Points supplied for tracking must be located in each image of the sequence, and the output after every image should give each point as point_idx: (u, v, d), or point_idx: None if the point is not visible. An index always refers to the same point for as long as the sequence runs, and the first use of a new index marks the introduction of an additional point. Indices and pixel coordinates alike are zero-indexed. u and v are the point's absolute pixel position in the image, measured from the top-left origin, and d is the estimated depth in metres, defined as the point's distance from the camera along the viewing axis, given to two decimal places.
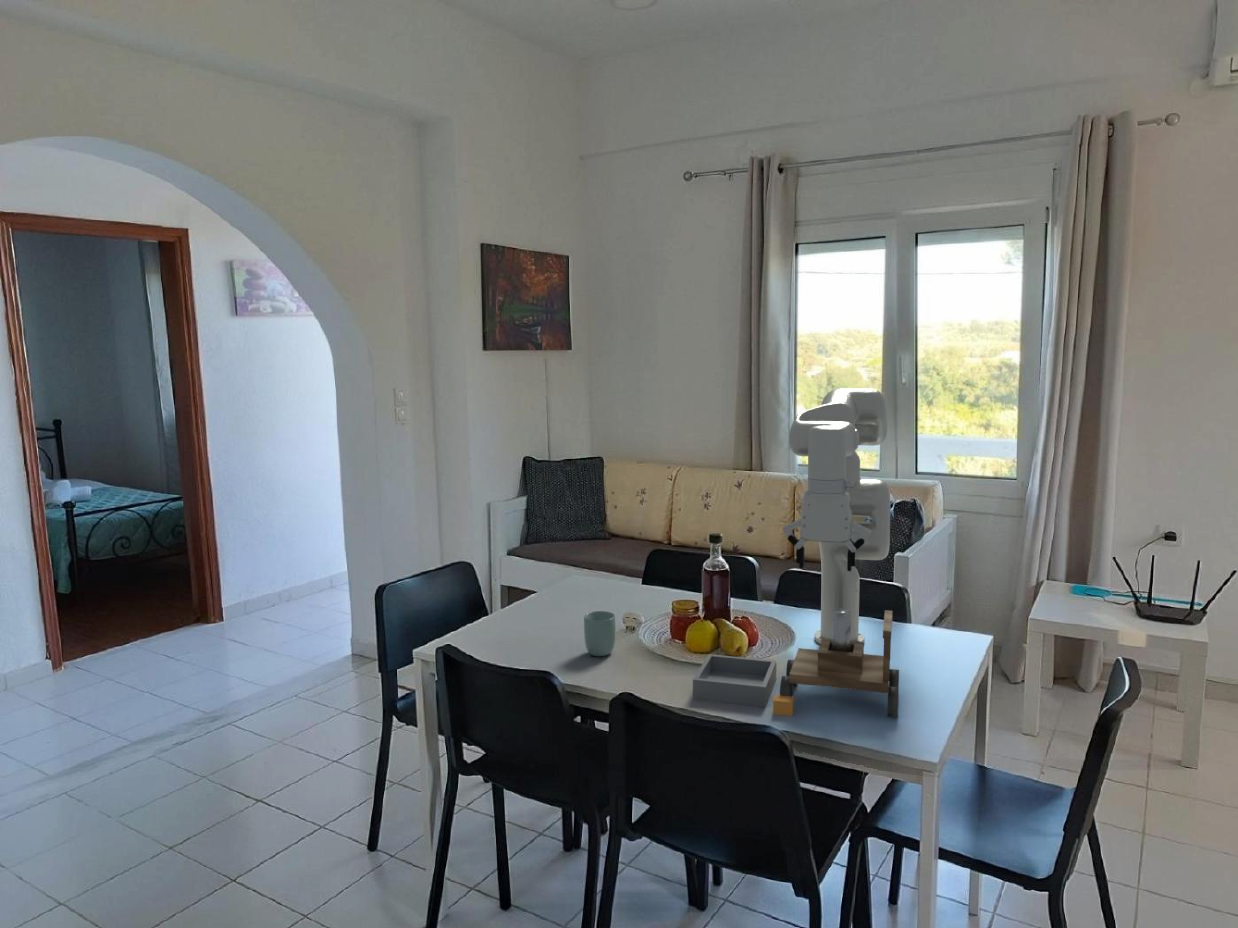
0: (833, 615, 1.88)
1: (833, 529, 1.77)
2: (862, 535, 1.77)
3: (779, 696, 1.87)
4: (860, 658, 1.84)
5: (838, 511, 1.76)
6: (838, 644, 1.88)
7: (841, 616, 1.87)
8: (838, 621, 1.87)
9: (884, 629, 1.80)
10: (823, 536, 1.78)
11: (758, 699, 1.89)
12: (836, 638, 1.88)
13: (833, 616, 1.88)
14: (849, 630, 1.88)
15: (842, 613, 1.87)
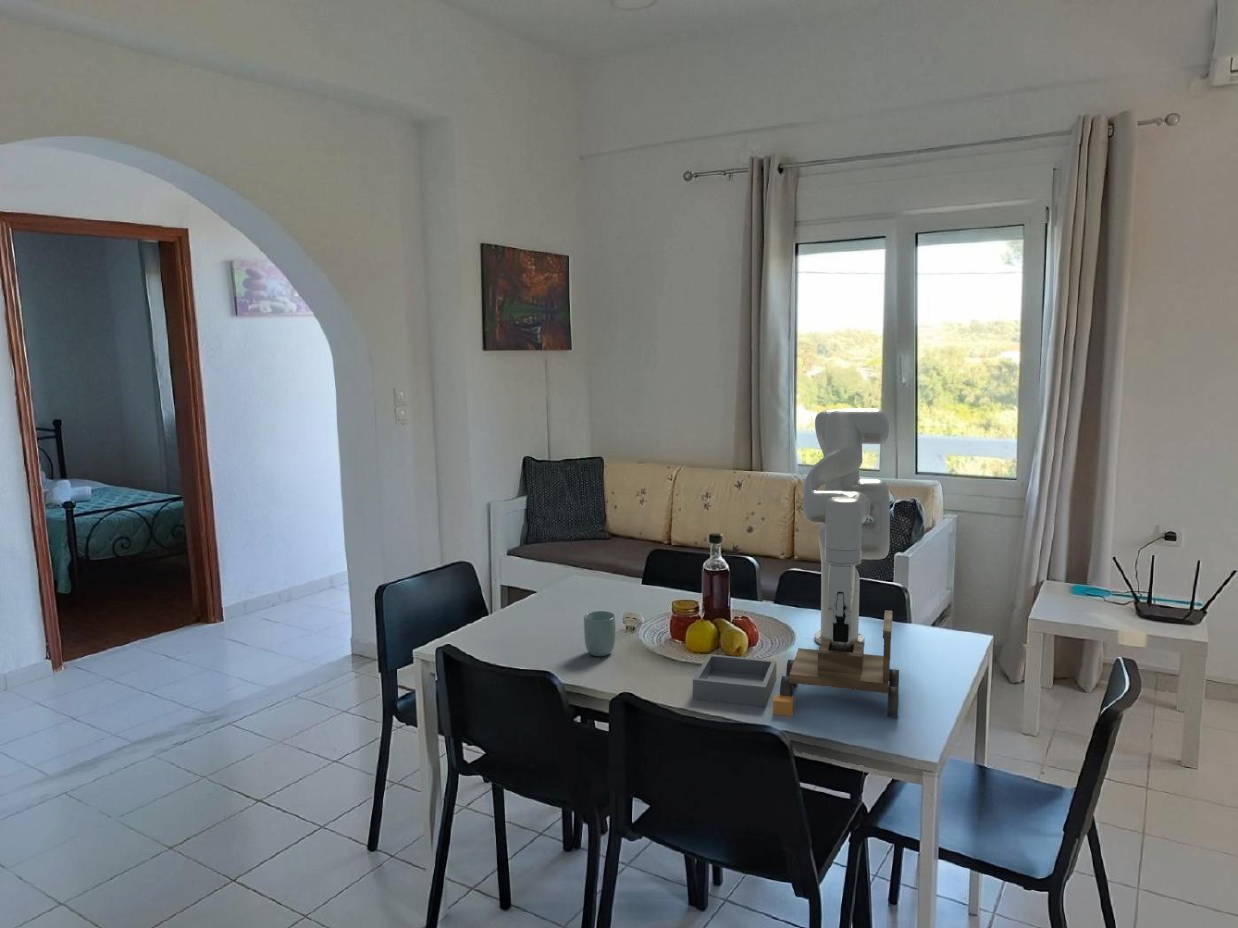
0: (833, 615, 1.88)
1: None
2: None
3: (779, 696, 1.87)
4: (860, 658, 1.84)
5: None
6: (838, 644, 1.88)
7: None
8: None
9: (884, 629, 1.80)
10: (852, 601, 1.87)
11: (758, 699, 1.89)
12: None
13: (833, 616, 1.88)
14: (849, 630, 1.88)
15: None
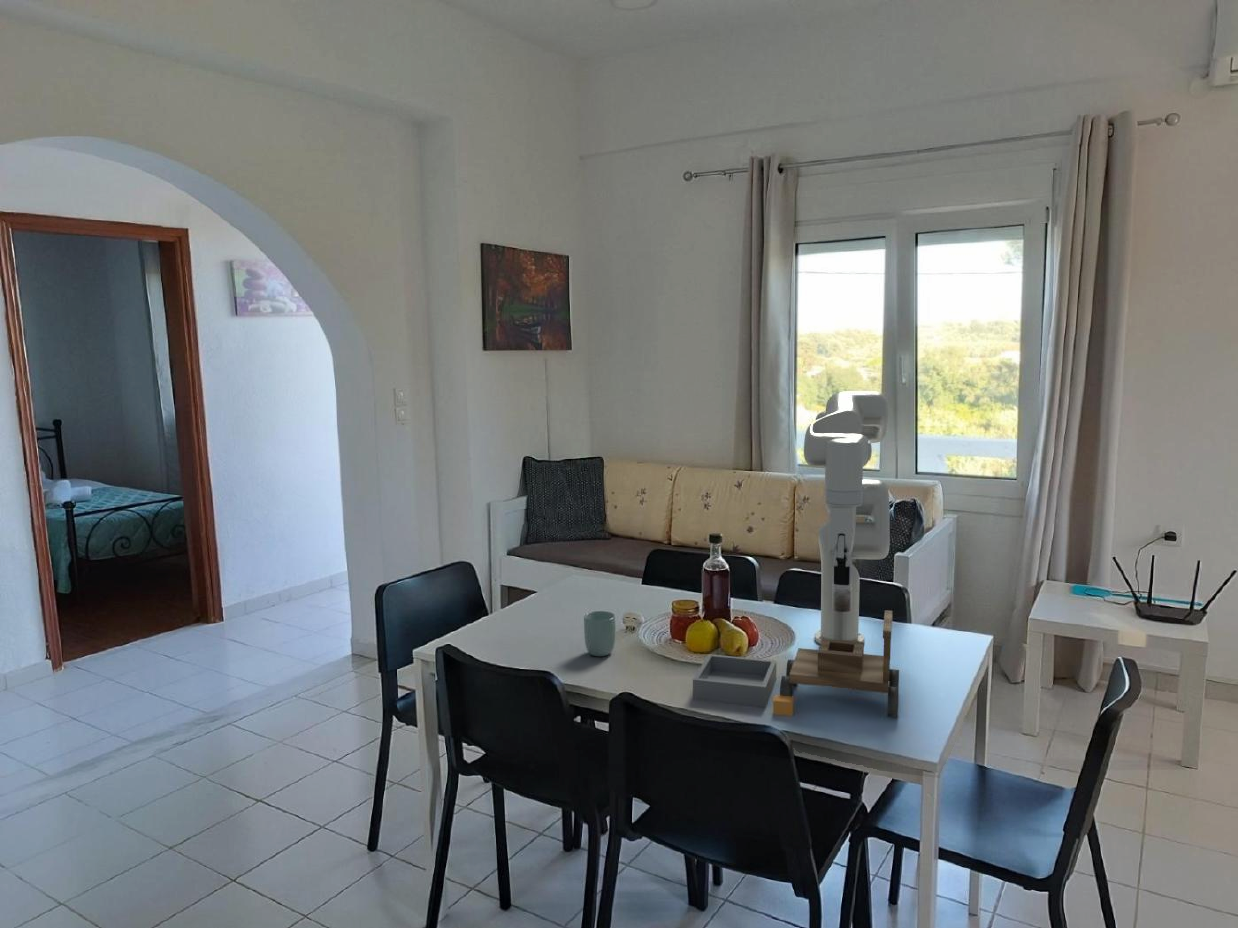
0: (834, 558, 1.86)
1: None
2: None
3: (779, 696, 1.87)
4: (860, 658, 1.84)
5: None
6: (839, 588, 1.86)
7: None
8: None
9: (884, 629, 1.80)
10: (853, 544, 1.85)
11: (758, 699, 1.89)
12: None
13: (834, 559, 1.86)
14: (850, 573, 1.86)
15: None
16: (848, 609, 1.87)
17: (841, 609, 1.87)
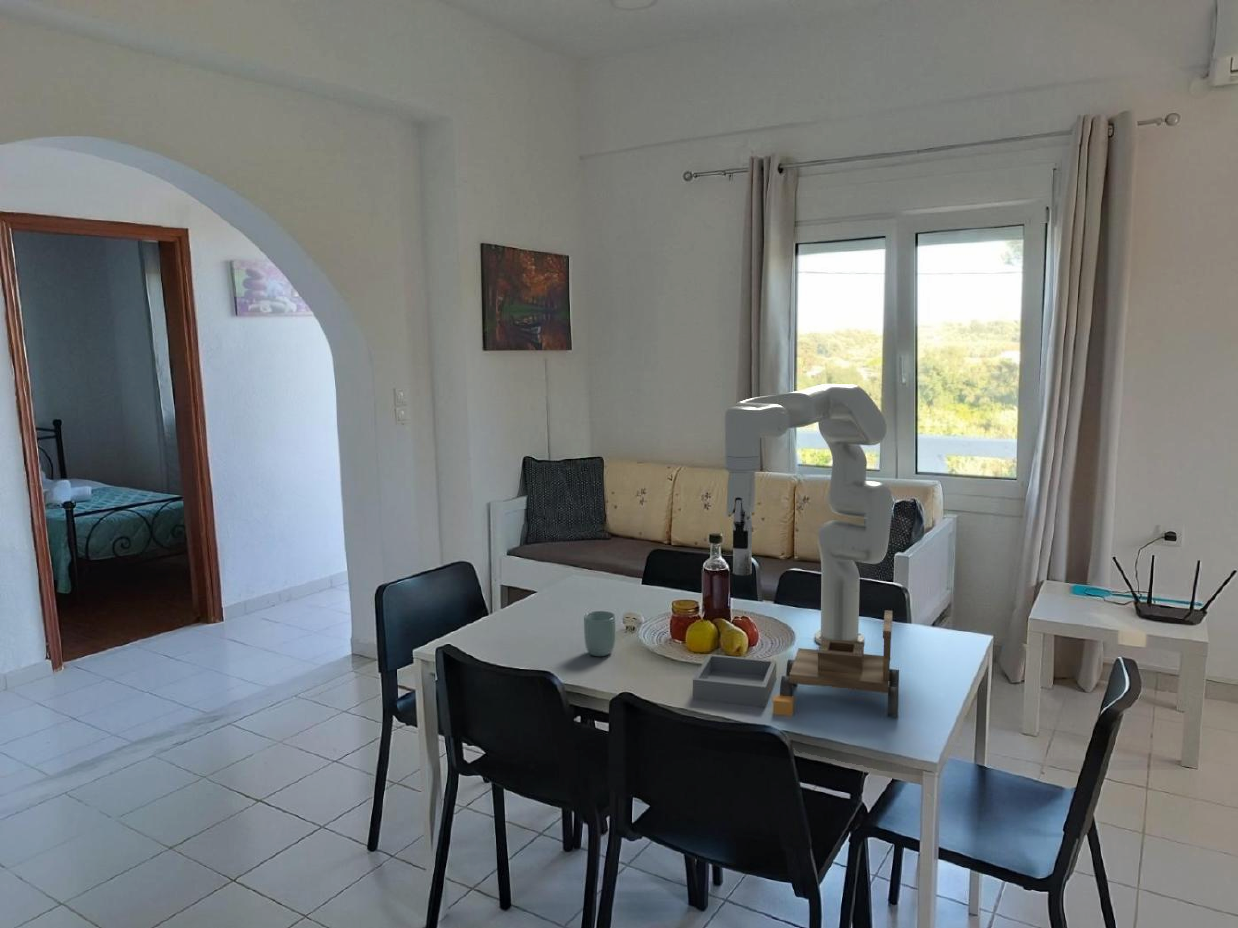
0: None
1: (754, 500, 1.93)
2: None
3: (779, 696, 1.87)
4: (860, 658, 1.84)
5: None
6: (738, 552, 1.92)
7: None
8: None
9: (884, 629, 1.80)
10: (752, 509, 1.91)
11: (758, 699, 1.89)
12: None
13: None
14: (749, 537, 1.91)
15: None
16: (748, 572, 1.92)
17: (741, 572, 1.92)
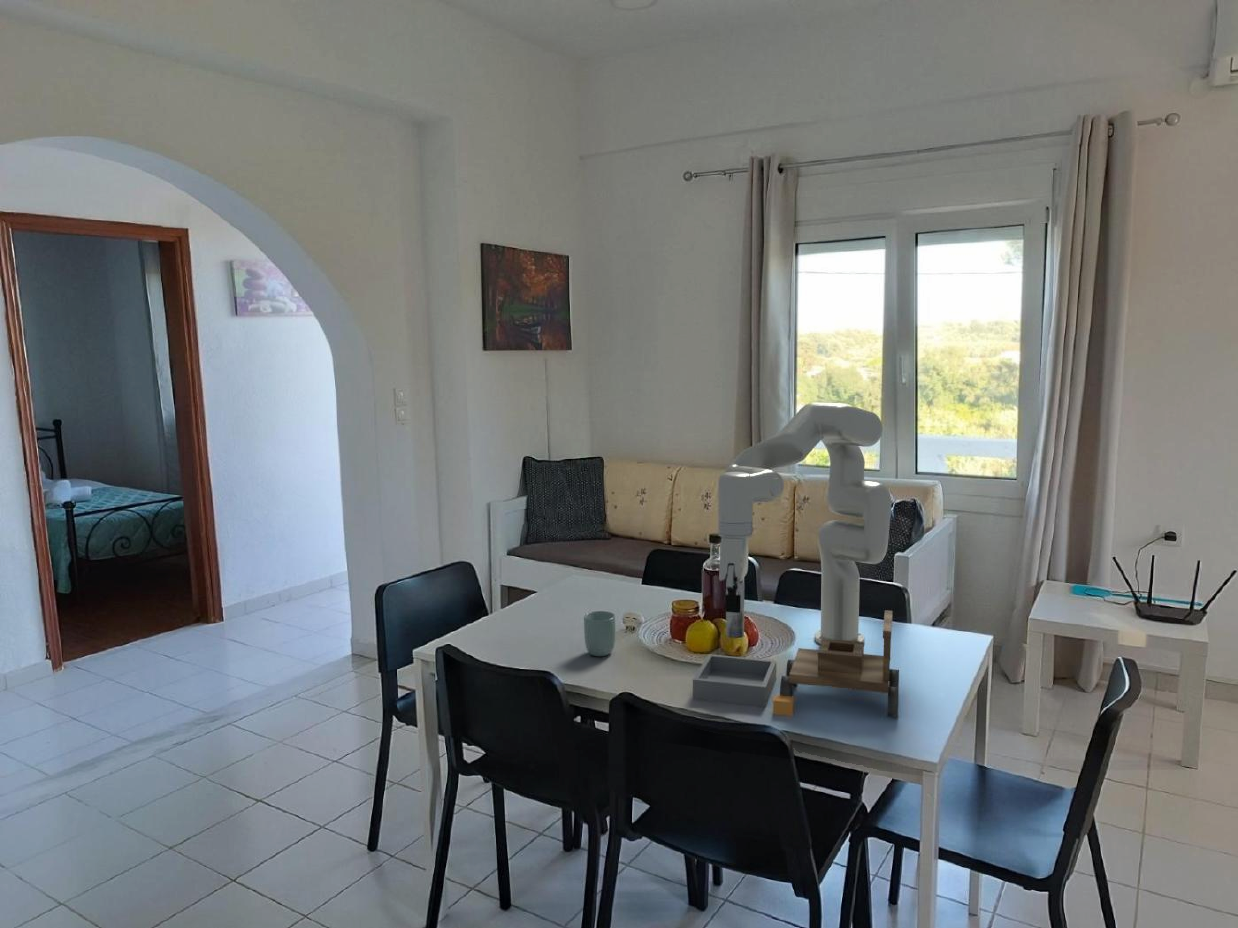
0: None
1: (747, 564, 1.95)
2: None
3: (779, 696, 1.87)
4: (860, 658, 1.84)
5: None
6: (731, 615, 1.94)
7: None
8: None
9: (884, 629, 1.80)
10: (744, 573, 1.94)
11: (758, 699, 1.89)
12: None
13: None
14: (742, 601, 1.94)
15: (735, 584, 1.94)
16: (740, 635, 1.95)
17: (733, 635, 1.95)
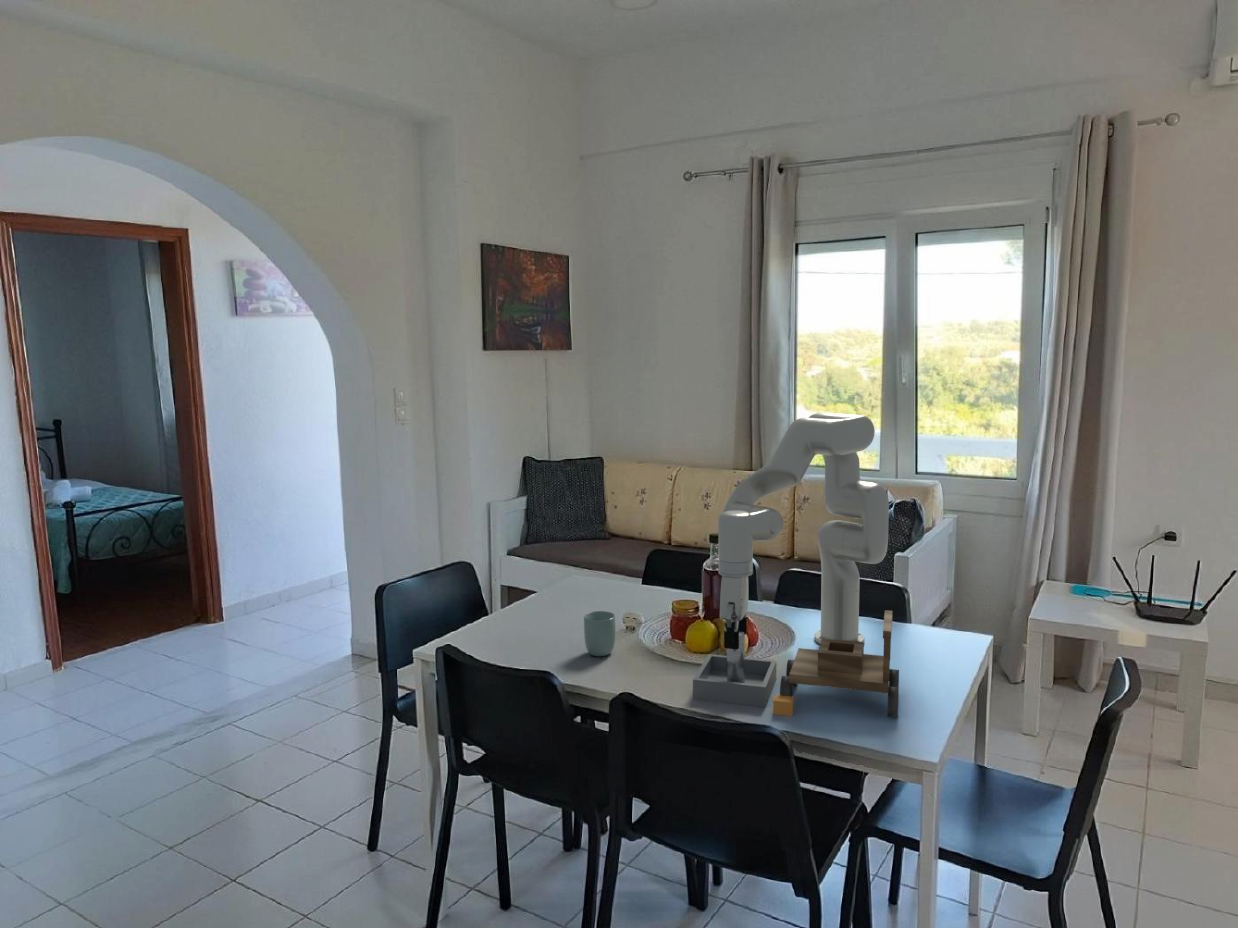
0: None
1: (747, 601, 1.96)
2: None
3: (779, 696, 1.87)
4: (860, 658, 1.84)
5: None
6: (732, 665, 1.96)
7: None
8: None
9: (884, 629, 1.80)
10: (745, 611, 1.95)
11: (758, 699, 1.89)
12: (730, 659, 1.96)
13: None
14: (742, 651, 1.96)
15: None
16: None
17: None
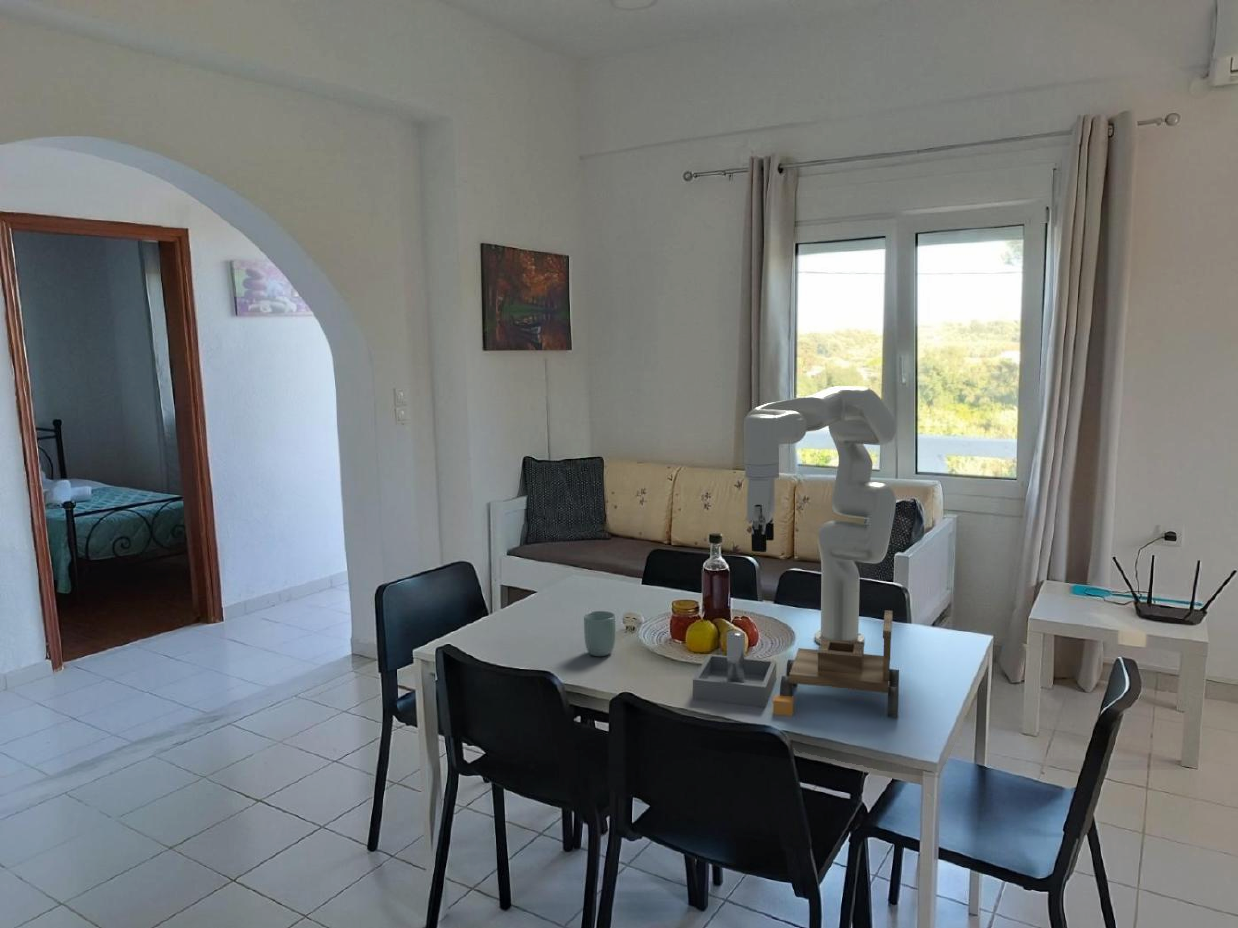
0: (727, 637, 1.96)
1: (774, 506, 1.96)
2: None
3: (779, 696, 1.87)
4: (860, 658, 1.84)
5: (774, 488, 1.96)
6: (732, 665, 1.96)
7: (734, 638, 1.95)
8: (731, 643, 1.95)
9: (884, 629, 1.80)
10: (772, 515, 1.94)
11: (758, 699, 1.89)
12: (730, 659, 1.96)
13: (727, 638, 1.96)
14: (742, 651, 1.96)
15: (735, 635, 1.95)
16: None
17: None
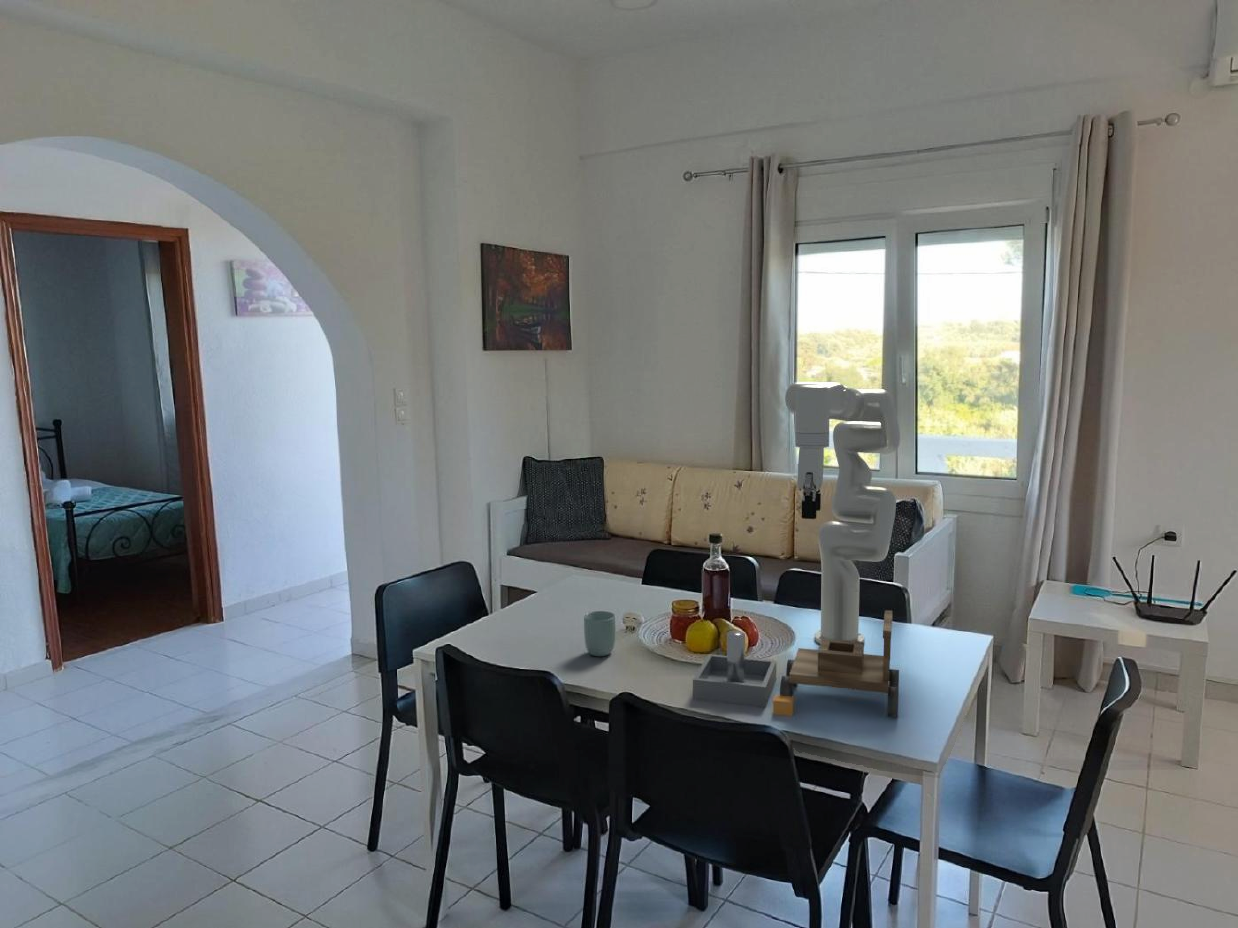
0: (727, 637, 1.96)
1: None
2: None
3: (779, 696, 1.87)
4: (860, 658, 1.84)
5: None
6: (732, 665, 1.96)
7: (735, 638, 1.95)
8: (731, 643, 1.95)
9: (884, 629, 1.80)
10: (821, 483, 1.98)
11: (758, 699, 1.89)
12: (730, 659, 1.96)
13: (727, 638, 1.96)
14: (742, 651, 1.96)
15: (735, 635, 1.95)
16: None
17: None
